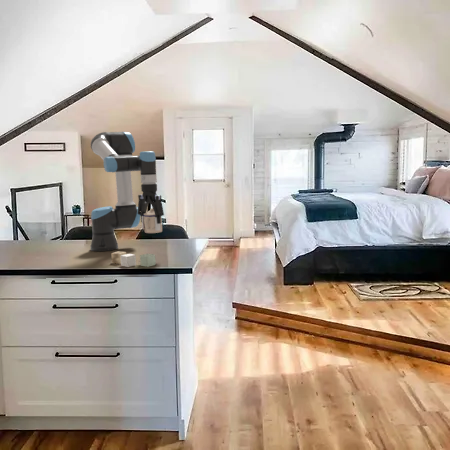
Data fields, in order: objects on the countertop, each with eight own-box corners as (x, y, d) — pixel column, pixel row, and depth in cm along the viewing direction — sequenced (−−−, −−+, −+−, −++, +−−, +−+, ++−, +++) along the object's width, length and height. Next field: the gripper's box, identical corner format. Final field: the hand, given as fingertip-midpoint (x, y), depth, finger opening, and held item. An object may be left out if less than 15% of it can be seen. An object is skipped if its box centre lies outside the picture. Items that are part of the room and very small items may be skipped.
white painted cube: (121, 265, 244) (120, 255, 243) (129, 263, 247) (129, 253, 247) (127, 267, 240) (126, 256, 240) (136, 265, 244) (135, 254, 243)
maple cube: (111, 263, 250) (111, 253, 249) (118, 261, 254) (118, 251, 254) (120, 264, 248) (119, 253, 247) (126, 262, 252) (126, 252, 251)
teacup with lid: (149, 230, 260) (148, 207, 258) (166, 230, 257) (164, 207, 255) (137, 234, 249) (136, 210, 247) (154, 234, 246) (153, 210, 244)
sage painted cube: (140, 265, 243) (139, 255, 242) (148, 263, 246) (147, 253, 246) (147, 266, 239) (147, 256, 239) (155, 264, 243) (155, 254, 243)
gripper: (128, 183, 253) (130, 229, 257) (159, 184, 240) (161, 232, 244) (139, 182, 259) (142, 227, 262) (170, 183, 246) (172, 230, 249)
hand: (151, 229), depth 253 cm, fingers closed on teacup with lid, 8 cm apart
